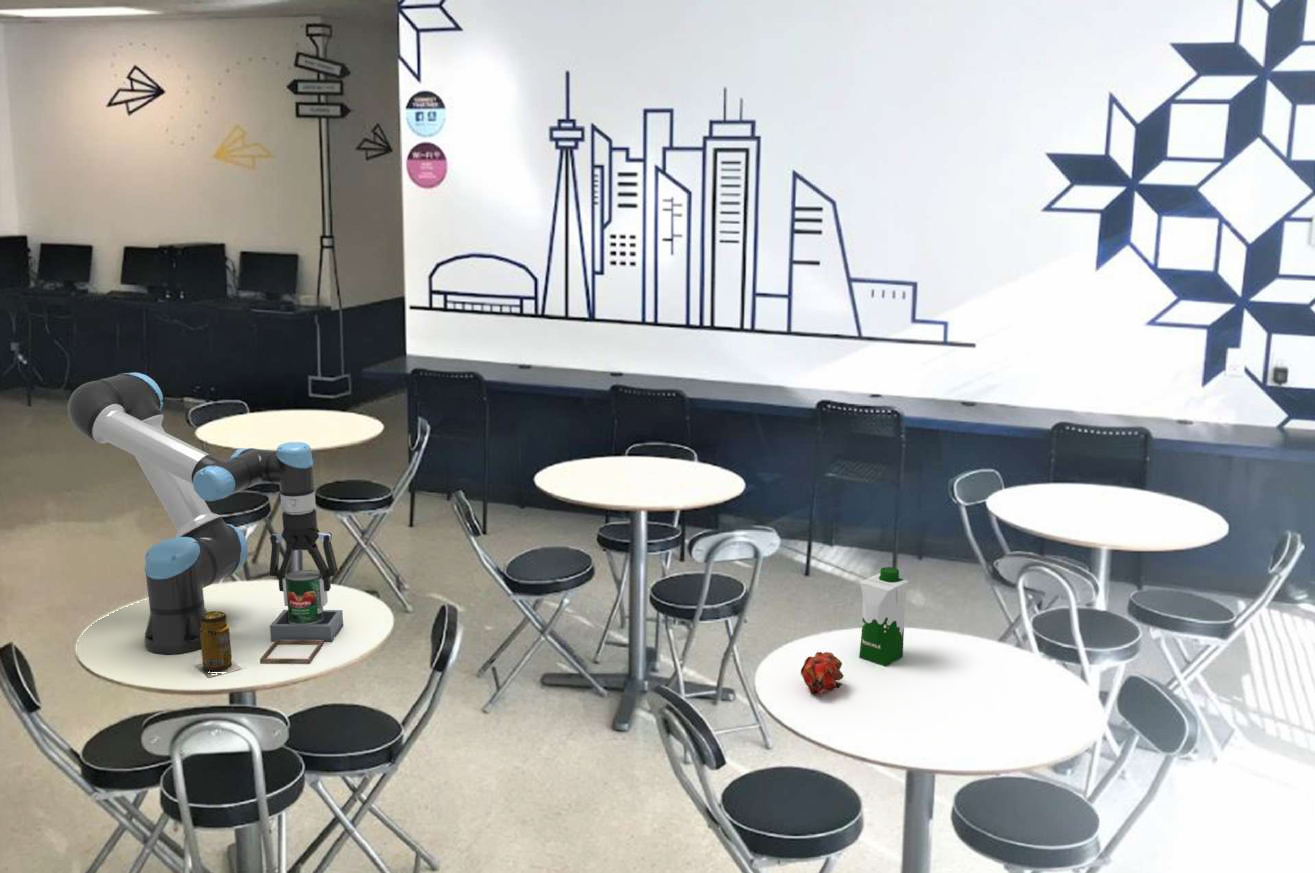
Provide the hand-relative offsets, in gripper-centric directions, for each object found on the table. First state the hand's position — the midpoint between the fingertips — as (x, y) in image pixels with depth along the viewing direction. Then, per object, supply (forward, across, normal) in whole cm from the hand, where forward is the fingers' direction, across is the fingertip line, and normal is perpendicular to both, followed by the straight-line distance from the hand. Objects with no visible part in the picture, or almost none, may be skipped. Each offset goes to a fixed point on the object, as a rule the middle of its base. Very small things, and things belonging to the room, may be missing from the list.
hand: (306, 603), depth 285 cm
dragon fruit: (+8, +117, -28) cm, 120 cm away
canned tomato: (+4, 0, -1) cm, 4 cm away
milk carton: (+8, +132, -11) cm, 133 cm away
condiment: (+8, -14, -19) cm, 25 cm away
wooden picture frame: (+7, 0, -11) cm, 14 cm away
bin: (+8, 0, 0) cm, 8 cm away
